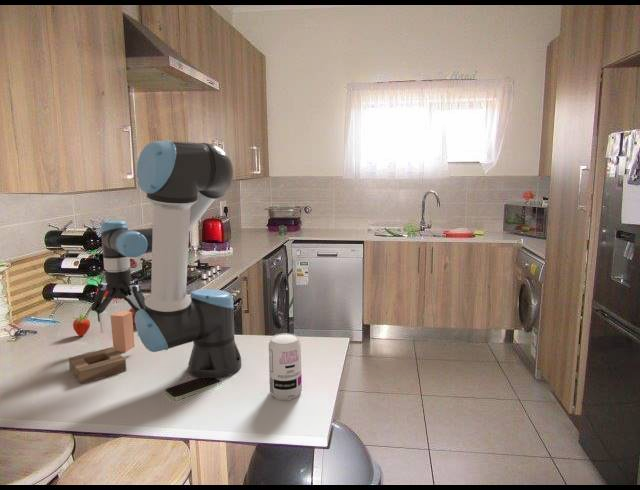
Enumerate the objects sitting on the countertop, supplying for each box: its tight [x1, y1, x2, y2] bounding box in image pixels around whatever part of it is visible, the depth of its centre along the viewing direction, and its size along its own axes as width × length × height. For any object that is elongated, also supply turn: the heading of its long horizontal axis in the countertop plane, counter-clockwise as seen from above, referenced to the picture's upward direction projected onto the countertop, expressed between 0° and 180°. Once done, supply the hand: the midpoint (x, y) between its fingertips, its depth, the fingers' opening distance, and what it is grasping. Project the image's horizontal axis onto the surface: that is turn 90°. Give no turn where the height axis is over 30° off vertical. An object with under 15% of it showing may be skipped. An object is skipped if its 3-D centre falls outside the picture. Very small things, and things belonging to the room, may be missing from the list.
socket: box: [68, 346, 127, 385], centre depth 127 cm, size 12×12×4 cm
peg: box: [110, 310, 136, 353], centre depth 141 cm, size 4×4×12 cm
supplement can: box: [268, 332, 303, 401], centre depth 112 cm, size 8×8×15 cm
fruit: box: [72, 313, 91, 337], centre depth 153 cm, size 5×5×8 cm
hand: (122, 333), depth 142 cm, fingers open, 13 cm apart
